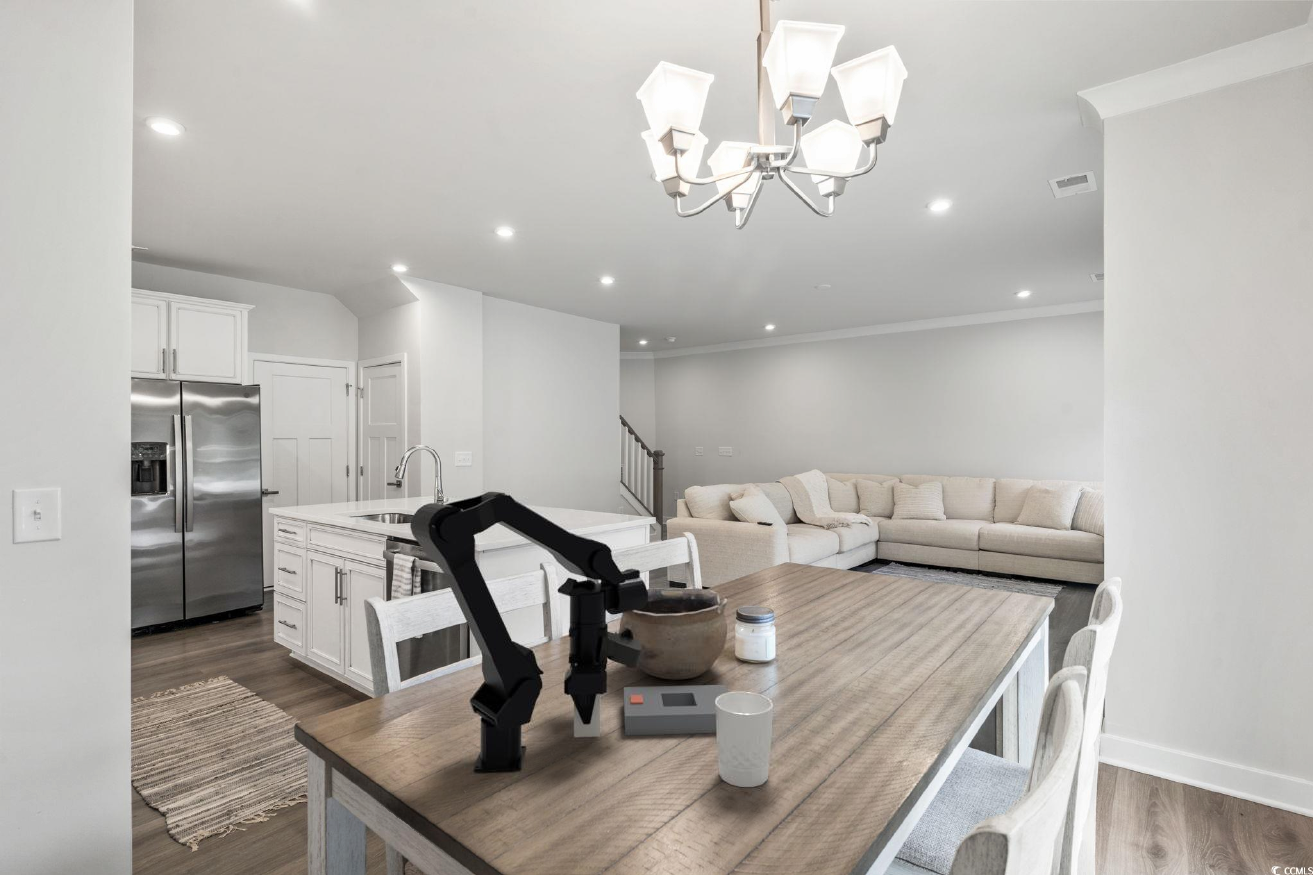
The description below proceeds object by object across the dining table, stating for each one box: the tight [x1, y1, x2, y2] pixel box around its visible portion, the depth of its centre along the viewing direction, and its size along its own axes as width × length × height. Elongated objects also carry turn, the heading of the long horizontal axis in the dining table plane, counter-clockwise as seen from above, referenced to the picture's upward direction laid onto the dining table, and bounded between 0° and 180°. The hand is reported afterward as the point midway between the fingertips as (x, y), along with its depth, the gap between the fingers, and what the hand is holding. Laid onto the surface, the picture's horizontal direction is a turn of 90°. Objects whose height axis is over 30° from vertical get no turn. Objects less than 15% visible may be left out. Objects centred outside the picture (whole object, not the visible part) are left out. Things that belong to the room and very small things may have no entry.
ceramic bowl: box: [618, 587, 728, 681], centre depth 128 cm, size 22×22×15 cm
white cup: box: [715, 691, 774, 788], centre depth 88 cm, size 8×8×10 cm
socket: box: [623, 684, 730, 736], centre depth 106 cm, size 12×18×3 cm, turn 94°
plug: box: [573, 694, 601, 738], centre depth 101 cm, size 4×4×8 cm
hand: (587, 718), depth 101 cm, fingers closed on plug, 4 cm apart
